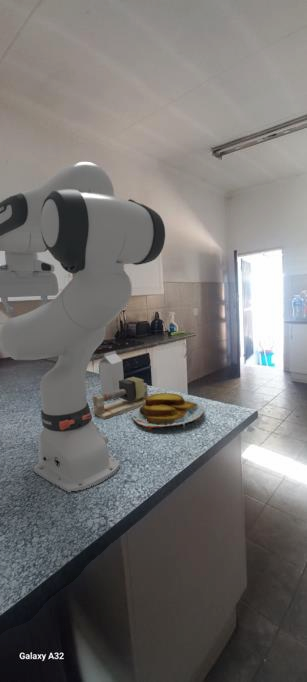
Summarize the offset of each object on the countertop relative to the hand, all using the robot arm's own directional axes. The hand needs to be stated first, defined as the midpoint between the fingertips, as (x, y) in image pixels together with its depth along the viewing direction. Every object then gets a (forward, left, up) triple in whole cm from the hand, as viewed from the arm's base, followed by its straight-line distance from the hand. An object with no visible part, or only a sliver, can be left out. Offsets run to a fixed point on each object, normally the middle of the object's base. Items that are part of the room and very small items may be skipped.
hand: (26, 311), depth 90 cm
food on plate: (-23, -36, -40) cm, 58 cm away
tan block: (-4, -36, -36) cm, 51 cm away
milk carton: (+10, -35, -39) cm, 53 cm away
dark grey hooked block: (-4, -32, -36) cm, 48 cm away
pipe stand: (-4, -30, -39) cm, 49 cm away
